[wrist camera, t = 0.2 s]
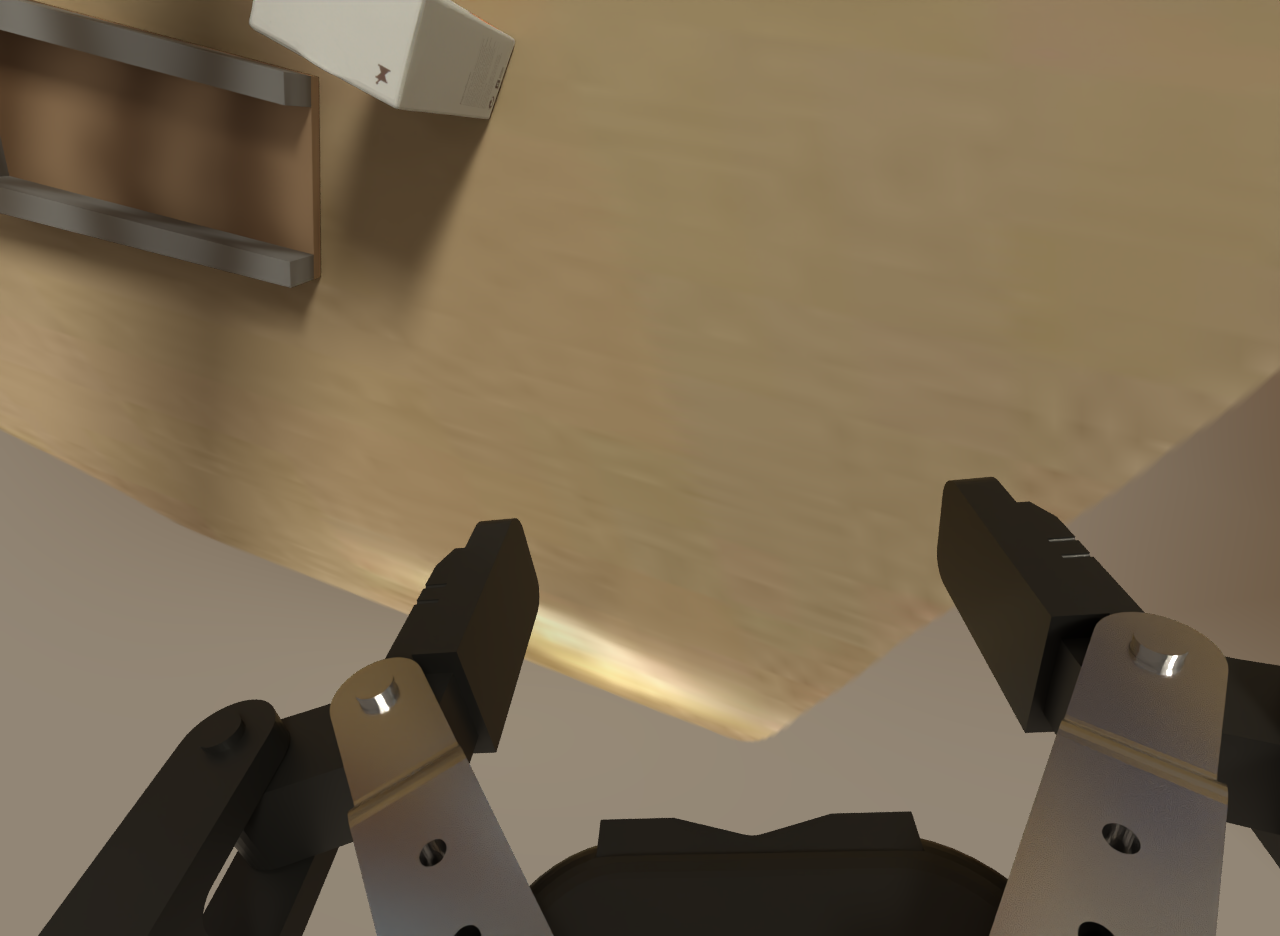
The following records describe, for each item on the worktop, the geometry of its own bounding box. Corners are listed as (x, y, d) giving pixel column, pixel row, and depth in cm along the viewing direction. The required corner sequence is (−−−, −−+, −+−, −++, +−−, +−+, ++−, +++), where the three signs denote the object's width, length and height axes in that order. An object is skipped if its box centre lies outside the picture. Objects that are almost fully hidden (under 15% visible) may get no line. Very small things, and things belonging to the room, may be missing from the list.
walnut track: (318, 77, 34) (283, 71, 32) (321, 276, 40) (290, 287, 37) (-48, -21, 34) (-118, -36, 31) (3, 194, 39) (-53, 199, 36)
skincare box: (518, 38, 33) (431, -8, 22) (490, 121, 35) (398, 115, 24) (409, -26, 32) (265, -106, 21) (386, 63, 34) (244, 30, 23)
